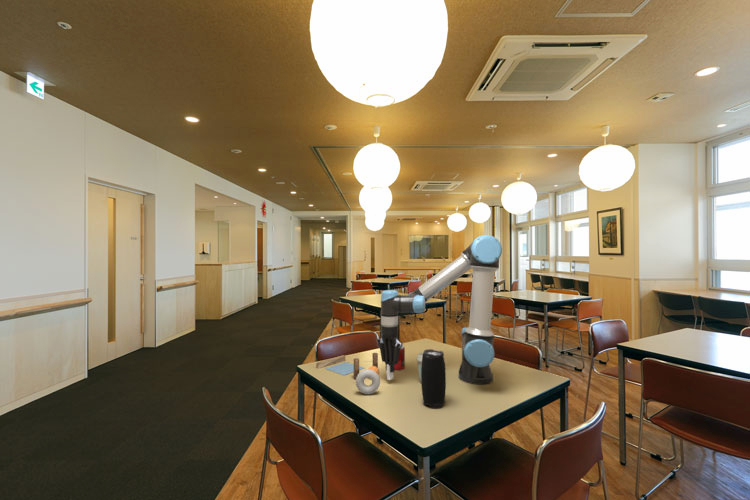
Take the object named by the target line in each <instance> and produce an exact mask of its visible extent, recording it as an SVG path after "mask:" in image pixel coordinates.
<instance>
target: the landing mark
mask: <svg viewBox="0 0 750 500" xmlns="http://www.w3.org/2000/svg"><path fill="white" fill-rule="evenodd" d="M324 368H325V367H324ZM325 370H327V371H330V372H334V373H336V374H340V375H342V376H347V375H349V374H352V373H354V363H350V362H347V361H346V362H345V361H344V362H341V363H337V364H336V365H335V364H334V365H333V366H332V365H331V366H328V367H326V368H325ZM360 370H361V371H362V370H365V367H363V366H361V365H359V371H360Z"/></svg>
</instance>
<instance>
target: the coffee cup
mask: <svg viewBox="0 0 750 500" xmlns="http://www.w3.org/2000/svg"><path fill="white" fill-rule="evenodd" d="M423 353H424V352H419V353H418V354H417V356H416V361H417V368H418V371H417V372H418V379H419V383H420V384H421V366H422V356H423Z"/></svg>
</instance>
